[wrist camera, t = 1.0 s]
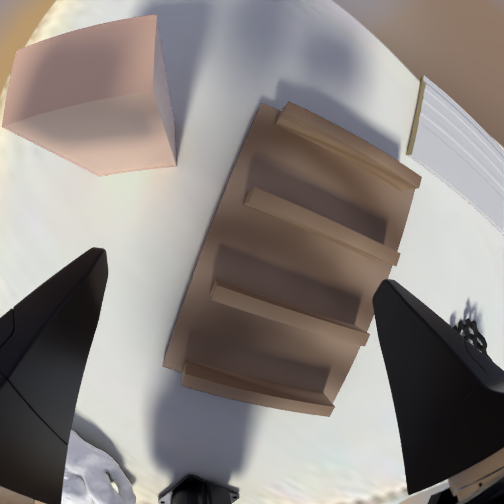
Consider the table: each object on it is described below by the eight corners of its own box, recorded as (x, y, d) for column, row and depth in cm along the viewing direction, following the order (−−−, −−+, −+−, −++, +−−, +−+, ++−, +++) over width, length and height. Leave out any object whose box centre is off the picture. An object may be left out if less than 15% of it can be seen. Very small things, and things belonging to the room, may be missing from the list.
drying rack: (326, 400, 25) (342, 420, 22) (163, 360, 22) (159, 382, 19) (409, 186, 25) (434, 182, 21) (259, 107, 22) (269, 89, 18)
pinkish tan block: (176, 166, 21) (153, 90, 8) (98, 176, 20) (1, 126, 7) (174, 121, 21) (156, 14, 8) (98, 132, 20) (17, 50, 7)
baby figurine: (147, 493, 23) (108, 543, 16) (64, 430, 25) (22, 471, 18) (150, 476, 19) (98, 541, 12) (49, 395, 21) (-6, 444, 14)
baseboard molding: (420, 69, 25) (401, 157, 25) (436, 60, 22) (421, 152, 22) (540, 196, 31) (529, 266, 31) (552, 196, 28) (542, 268, 28)
